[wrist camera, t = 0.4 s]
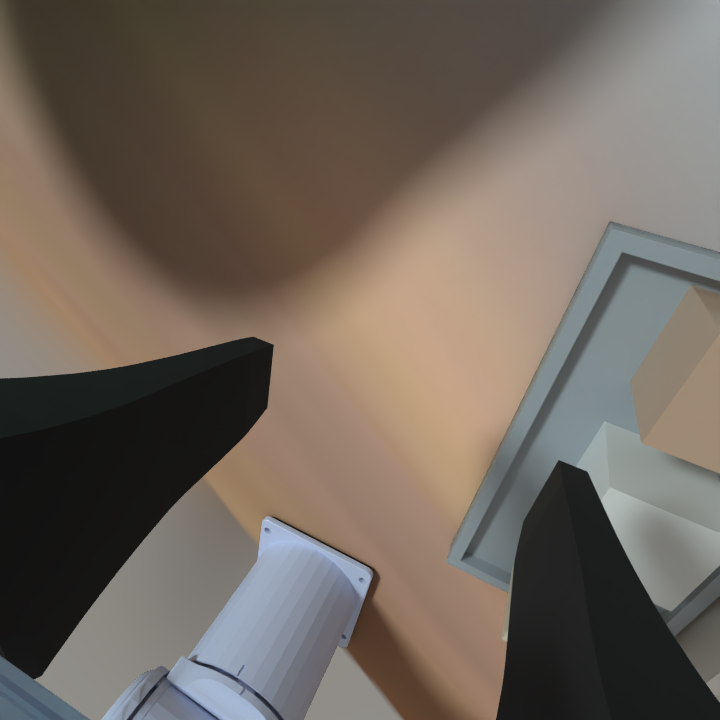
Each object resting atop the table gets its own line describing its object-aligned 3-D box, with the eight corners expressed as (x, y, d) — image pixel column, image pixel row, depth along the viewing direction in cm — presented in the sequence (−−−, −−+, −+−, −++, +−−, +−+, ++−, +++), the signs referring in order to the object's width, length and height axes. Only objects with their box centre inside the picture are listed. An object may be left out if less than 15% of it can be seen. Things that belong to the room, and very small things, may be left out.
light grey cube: (656, 528, 20) (671, 611, 16) (561, 488, 21) (558, 559, 17) (712, 462, 17) (743, 542, 14) (604, 421, 18) (609, 487, 15)
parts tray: (644, 638, 23) (646, 661, 22) (451, 545, 25) (445, 562, 25) (972, 324, 13) (1002, 341, 12) (609, 221, 16) (612, 228, 15)
